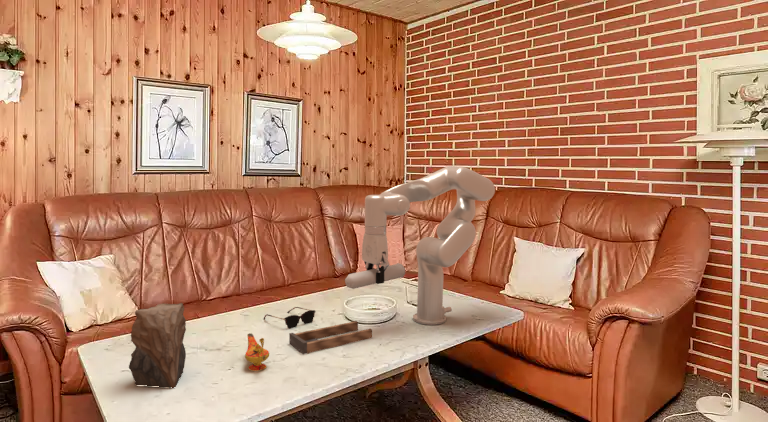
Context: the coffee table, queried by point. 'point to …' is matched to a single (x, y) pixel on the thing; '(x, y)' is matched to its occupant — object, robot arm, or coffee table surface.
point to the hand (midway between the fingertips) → (375, 281)
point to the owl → (158, 345)
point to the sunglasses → (297, 318)
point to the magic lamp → (256, 353)
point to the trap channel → (309, 342)
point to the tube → (374, 276)
